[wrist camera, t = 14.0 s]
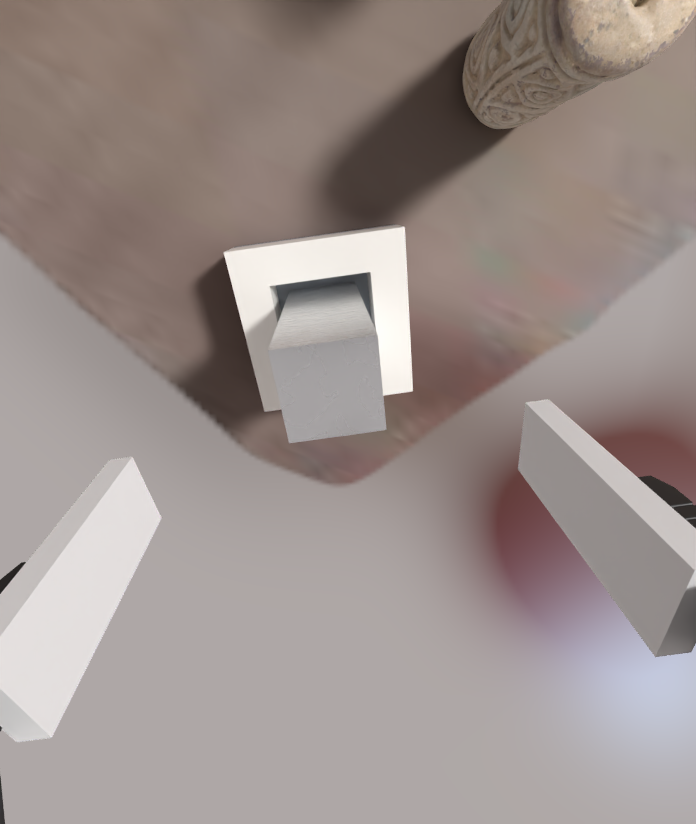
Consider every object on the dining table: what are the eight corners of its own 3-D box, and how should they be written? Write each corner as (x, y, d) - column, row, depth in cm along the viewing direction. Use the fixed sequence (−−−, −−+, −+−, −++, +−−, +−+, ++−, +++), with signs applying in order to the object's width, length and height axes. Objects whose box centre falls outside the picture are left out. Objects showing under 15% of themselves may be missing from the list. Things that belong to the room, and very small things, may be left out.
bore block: (235, 246, 29) (223, 252, 26) (394, 224, 29) (404, 226, 26) (270, 390, 35) (264, 411, 31) (403, 372, 35) (412, 391, 31)
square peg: (289, 290, 30) (267, 350, 18) (354, 281, 30) (377, 335, 18) (301, 351, 32) (289, 443, 20) (361, 343, 32) (386, 429, 20)
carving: (581, 72, 26) (766, -22, 15) (483, 160, 28) (585, 132, 17) (537, -35, 23) (721, -239, 12) (433, 70, 25) (515, -28, 14)
